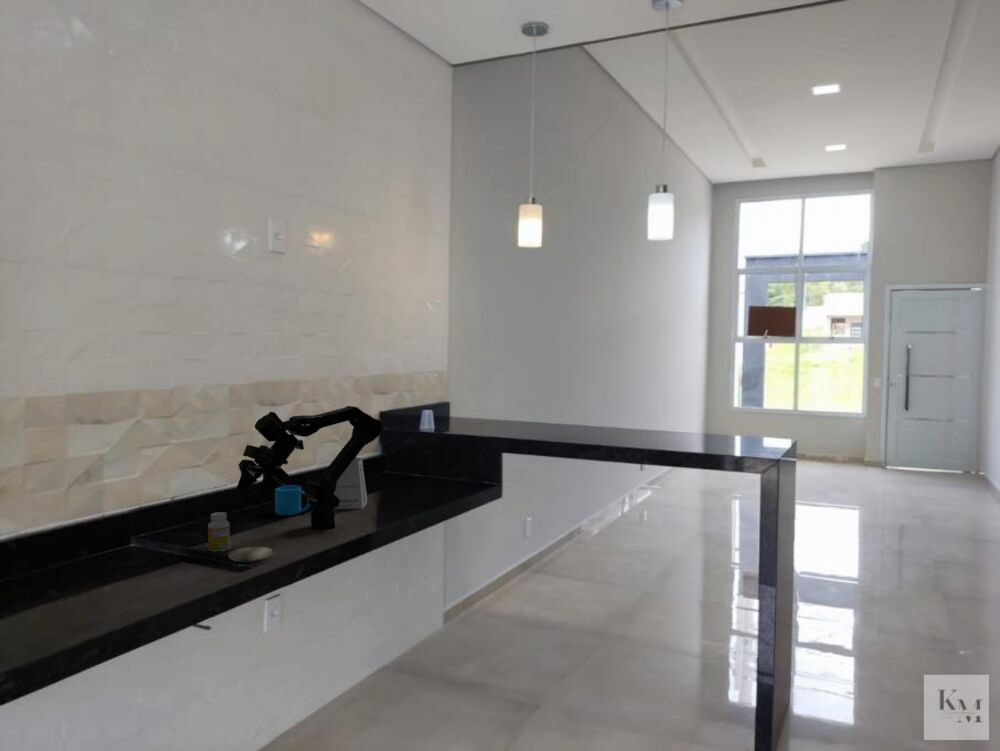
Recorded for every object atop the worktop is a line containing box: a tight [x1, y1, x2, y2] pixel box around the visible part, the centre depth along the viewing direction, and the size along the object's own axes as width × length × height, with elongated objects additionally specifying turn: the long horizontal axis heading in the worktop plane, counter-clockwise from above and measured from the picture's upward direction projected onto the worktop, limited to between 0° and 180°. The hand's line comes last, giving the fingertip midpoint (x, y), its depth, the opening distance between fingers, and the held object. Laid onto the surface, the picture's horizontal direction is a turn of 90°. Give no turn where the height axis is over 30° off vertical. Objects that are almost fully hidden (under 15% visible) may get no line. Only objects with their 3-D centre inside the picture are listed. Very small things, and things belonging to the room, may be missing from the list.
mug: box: [274, 484, 311, 516], centre depth 237 cm, size 12×8×8 cm
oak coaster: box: [227, 546, 274, 561], centre depth 189 cm, size 11×11×1 cm
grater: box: [334, 447, 368, 510], centre depth 248 cm, size 10×10×20 cm
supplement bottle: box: [207, 511, 231, 552], centre depth 195 cm, size 5×5×10 cm
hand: (244, 496), depth 200 cm, fingers open, 9 cm apart
